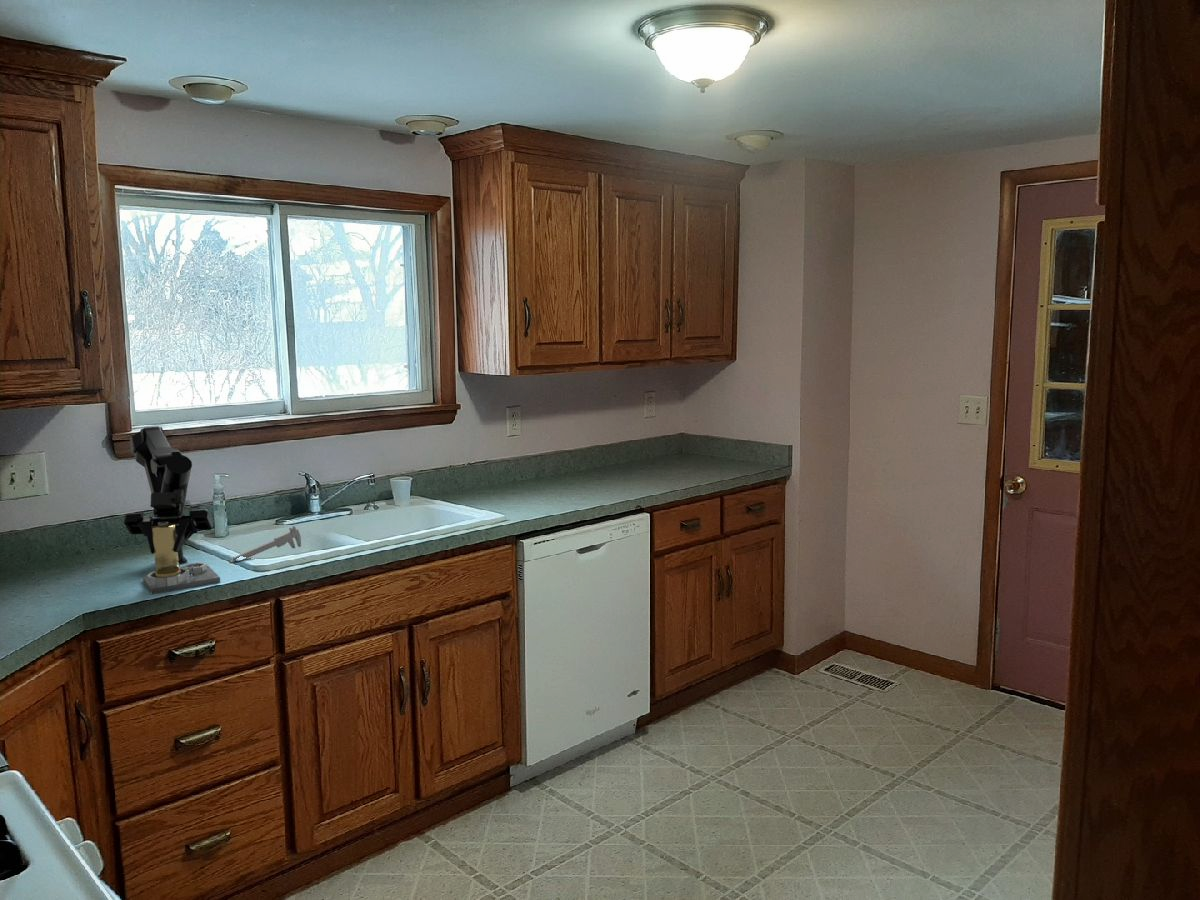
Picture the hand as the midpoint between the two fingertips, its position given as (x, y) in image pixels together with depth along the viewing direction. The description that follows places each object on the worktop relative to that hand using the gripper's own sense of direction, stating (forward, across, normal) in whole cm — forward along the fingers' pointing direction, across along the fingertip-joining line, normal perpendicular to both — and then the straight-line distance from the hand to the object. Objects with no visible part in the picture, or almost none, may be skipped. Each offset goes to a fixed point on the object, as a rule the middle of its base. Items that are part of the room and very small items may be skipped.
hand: (164, 552), depth 215 cm
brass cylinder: (+4, 0, +6) cm, 7 cm away
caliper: (-12, +18, +25) cm, 33 cm away
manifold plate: (+3, +2, +9) cm, 10 cm away
